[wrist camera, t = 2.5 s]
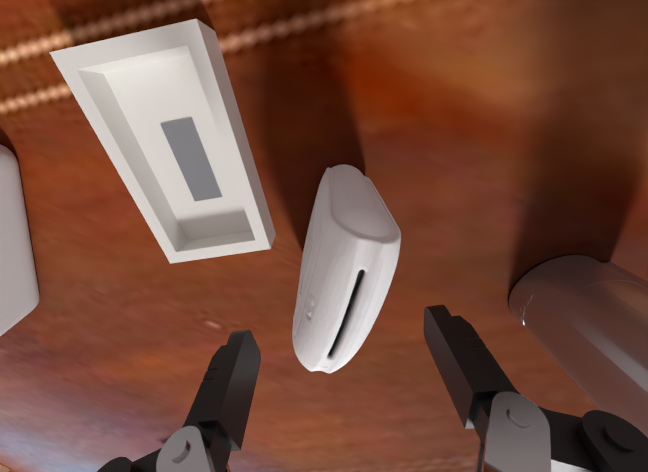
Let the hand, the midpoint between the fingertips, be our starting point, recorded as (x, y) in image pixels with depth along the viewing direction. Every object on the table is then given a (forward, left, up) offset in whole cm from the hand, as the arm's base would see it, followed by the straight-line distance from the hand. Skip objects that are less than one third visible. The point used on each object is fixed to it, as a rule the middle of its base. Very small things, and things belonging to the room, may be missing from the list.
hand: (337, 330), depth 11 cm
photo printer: (0, 0, -13) cm, 13 cm away
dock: (+10, -7, -12) cm, 17 cm away
